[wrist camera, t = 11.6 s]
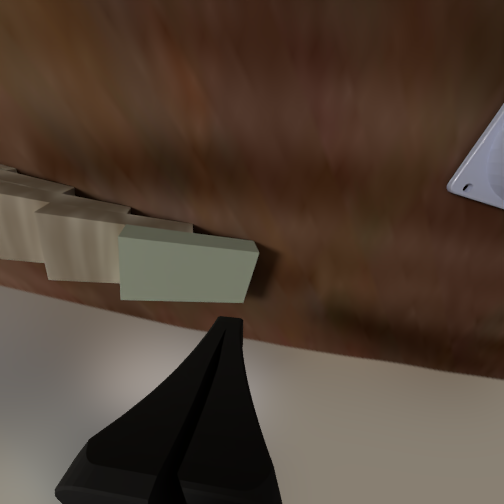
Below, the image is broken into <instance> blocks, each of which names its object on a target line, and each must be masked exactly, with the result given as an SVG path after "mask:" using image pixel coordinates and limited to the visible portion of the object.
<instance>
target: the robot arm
mask: <svg viewBox="0 0 504 504" xmlns="http://www.w3.org/2000/svg"><path fill="white" fill-rule="evenodd" d="M467 184H468V187H467V188H466V189H465V190H464V191H463V188H464V186H465V185H467ZM447 190H448V191H449V192H451V193H454V194H457V195H460V196H463V197H466V198H470V199H473V200H476V201H479V202H482V203H485V204H489V205H492V206H495V207H498V208H501V209H504V104H503V105H502V107H501V108H500V110H499V111H498V113H497V114H496V115H495V117H494V118H493V120H492V121H491V123H490V124H489V125H488V127H487V128H486V130H485V131H484V133H483V134H482V135H481V137H480V138H479V140H478V141H477V143H476V144H475V145H474V147H473V148H472V150H471V151H470V153H469V154H468V155H467V157H466V158H465V160H464V161H463V163H462V164H461V165H460V167H459V168H458V170H457V171H456V173H455V174H454V175H453V177H452V178H451V180H450V181H449V183H448V185H447ZM242 346H243V320H242V319H241V318H232V317H223V316H219V317H218V318H217V320H216V321H215V323H214V324H213V326H212V327H211V328H210V330H209V331H208V333H207V334H206V335H205V337H204V338H203V339H202V340H201V341H200V343H199V344H198V345H197V347H196V348H195V349H194V350H193V351H192V352H191V353H190V355H189V356H188V357H187V358H186V359H185V360H184V361H183V362H182V363H181V364H180V365H179V367H178V368H177V369H176V370H175V371H174V372H173V373H172V374H171V375H169V377H167V378H166V379H165V380H164V381H163V382H162V383H161V384H160V385H159V386H158V387H156V388H155V389H154V390H153V391H152V392H151V393H150V394H148V395H147V396H146V397H145V398H144V399H143V400H141V401H140V402H139V403H137V404H136V405H135V406H134V407H133V408H131V409H130V410H129V411H127V412H126V413H125V414H124V415H122V416H121V417H120V418H118V419H117V420H115V421H114V422H113V423H111V424H110V425H109V426H107V427H106V428H104V429H103V430H101V431H100V432H99V433H97V434H96V435H94V436H93V437H92V438H90V439H89V440H88V442H87V443H86V444H85V446H84V447H83V448H82V450H81V451H80V452H79V454H78V455H77V457H76V458H75V459H74V461H73V462H72V464H71V466H70V467H69V468H68V470H67V472H66V473H65V475H64V476H63V478H62V479H61V481H60V482H59V484H58V485H57V487H56V489H55V496H56V497H57V499H58V500H59V501H60V502H61V503H62V504H282V500H281V496H280V491H279V487H278V483H277V479H276V475H275V470H274V466H273V463H272V460H271V458H270V455H269V452H268V449H267V446H266V444H265V441H264V438H263V435H262V432H261V429H260V425H259V422H258V419H257V415H256V412H255V408H254V405H253V401H252V397H251V393H250V389H249V385H248V381H247V376H246V370H245V365H244V358H243V350H242Z"/></svg>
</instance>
